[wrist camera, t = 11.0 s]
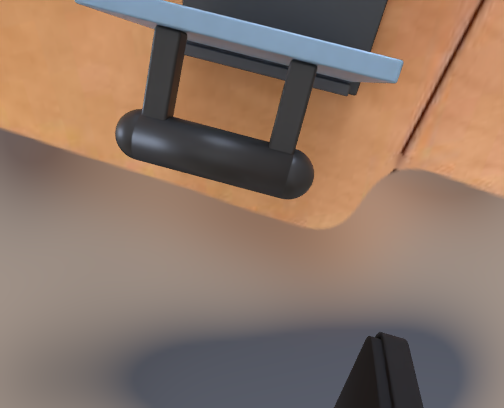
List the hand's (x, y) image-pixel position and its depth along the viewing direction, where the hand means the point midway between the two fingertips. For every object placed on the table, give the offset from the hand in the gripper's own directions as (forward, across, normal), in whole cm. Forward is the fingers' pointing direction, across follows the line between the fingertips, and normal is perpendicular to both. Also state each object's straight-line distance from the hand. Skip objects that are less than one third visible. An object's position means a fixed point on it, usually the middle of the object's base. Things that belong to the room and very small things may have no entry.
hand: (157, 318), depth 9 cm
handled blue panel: (+10, 0, -5) cm, 12 cm away
